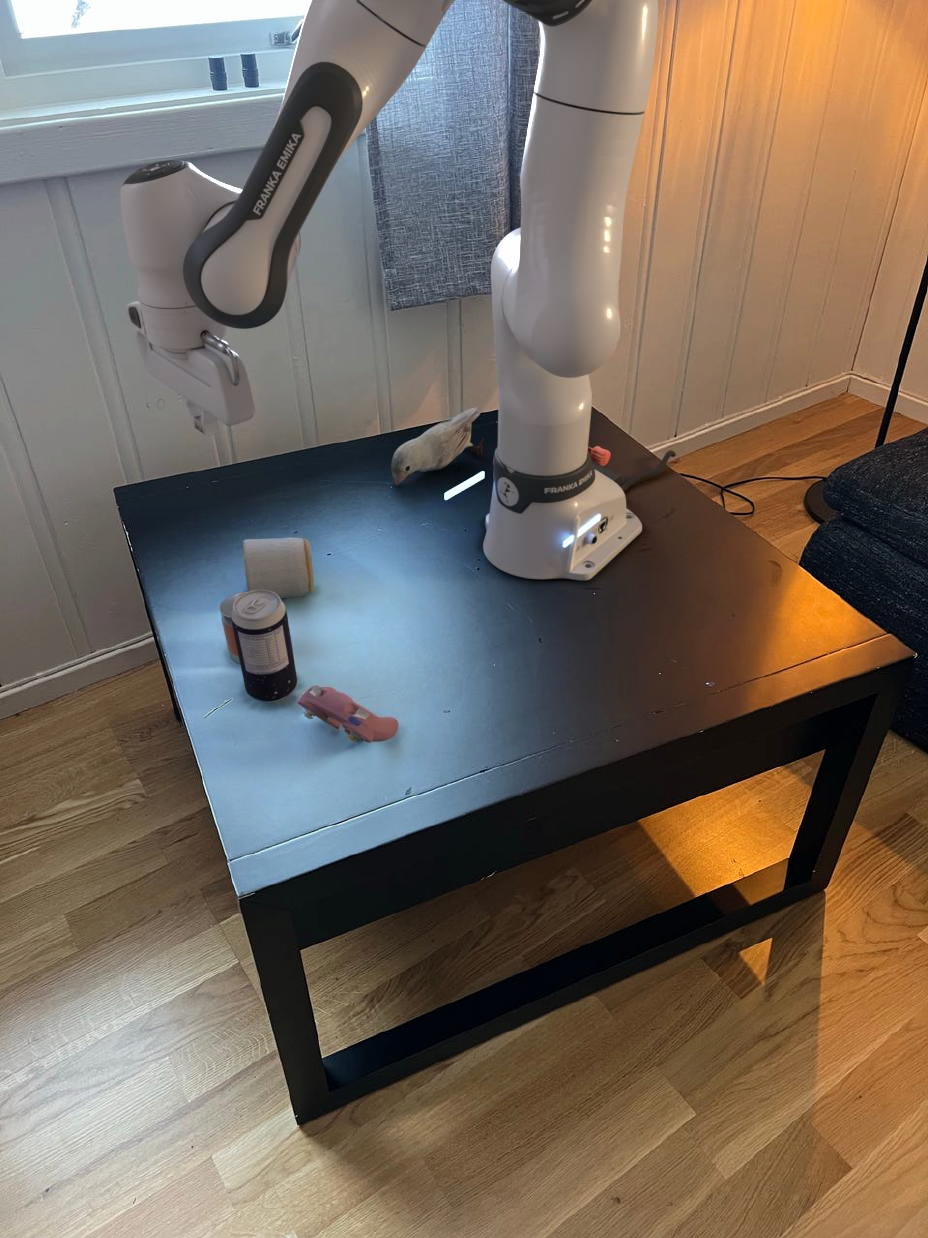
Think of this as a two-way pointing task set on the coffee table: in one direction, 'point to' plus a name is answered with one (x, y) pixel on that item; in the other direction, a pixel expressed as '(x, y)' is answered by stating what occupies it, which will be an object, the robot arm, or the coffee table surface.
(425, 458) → the decorative bird
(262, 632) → the beverage can
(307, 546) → the ceramic mug
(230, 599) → the food tin
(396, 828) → the coffee table surface
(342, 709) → the red toy car
